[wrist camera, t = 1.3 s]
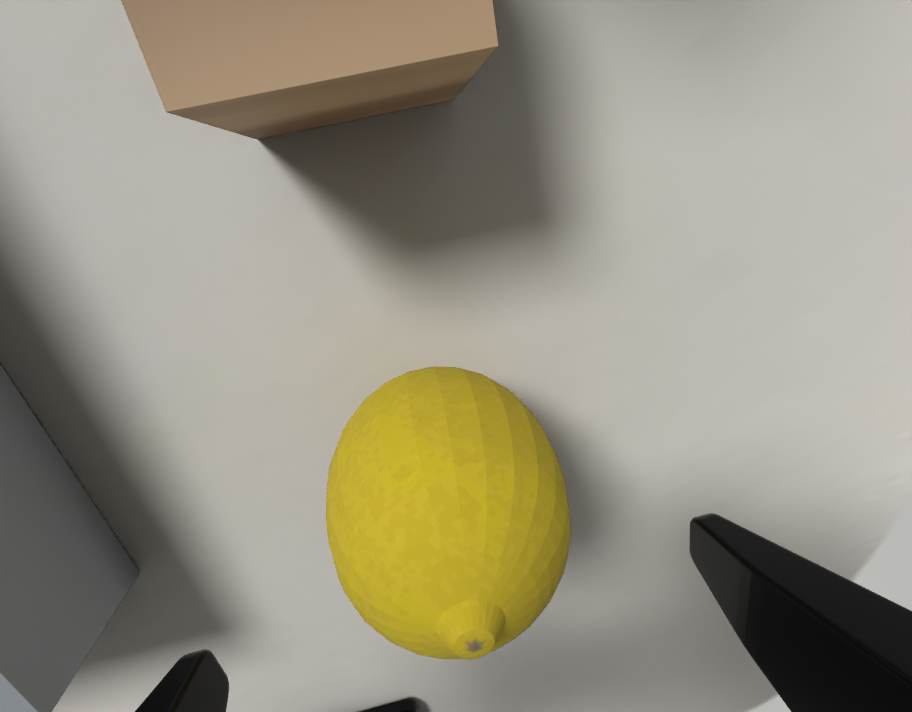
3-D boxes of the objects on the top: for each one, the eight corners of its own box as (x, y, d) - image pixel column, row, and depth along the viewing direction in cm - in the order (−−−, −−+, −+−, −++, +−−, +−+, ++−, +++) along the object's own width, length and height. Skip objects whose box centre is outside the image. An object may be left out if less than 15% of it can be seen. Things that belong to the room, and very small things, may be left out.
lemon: (544, 373, 14) (704, 574, 7) (459, 498, 16) (521, 773, 9) (393, 295, 13) (400, 453, 5) (314, 443, 14) (236, 725, 7)
